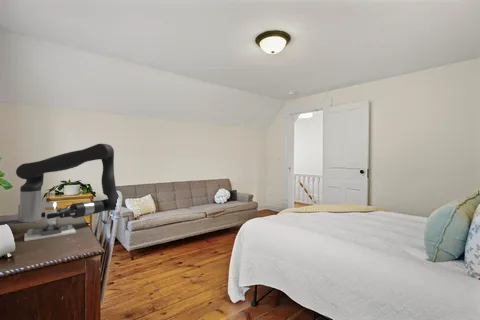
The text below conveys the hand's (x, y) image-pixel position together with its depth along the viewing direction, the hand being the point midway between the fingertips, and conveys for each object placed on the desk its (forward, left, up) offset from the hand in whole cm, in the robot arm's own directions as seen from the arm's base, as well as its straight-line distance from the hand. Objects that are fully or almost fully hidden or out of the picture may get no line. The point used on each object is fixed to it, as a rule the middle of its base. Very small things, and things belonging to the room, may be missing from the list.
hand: (44, 215), depth 115 cm
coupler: (+1, +3, -8) cm, 8 cm away
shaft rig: (+1, +2, -9) cm, 10 cm away
